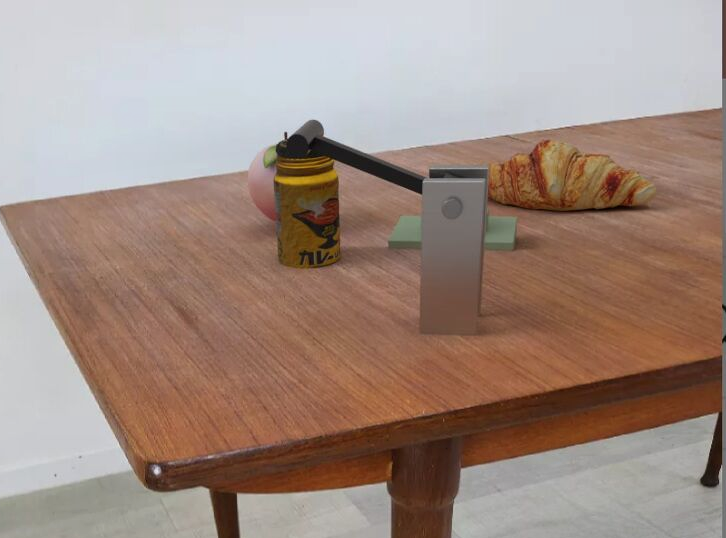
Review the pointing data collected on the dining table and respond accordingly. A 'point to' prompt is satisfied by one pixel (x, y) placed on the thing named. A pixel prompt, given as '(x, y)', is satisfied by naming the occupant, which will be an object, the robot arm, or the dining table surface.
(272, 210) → the decorative fruit
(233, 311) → the dining table surface
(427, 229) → the bracket
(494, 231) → the block
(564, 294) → the dining table surface
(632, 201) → the croissant
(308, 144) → the lever
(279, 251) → the condiment
